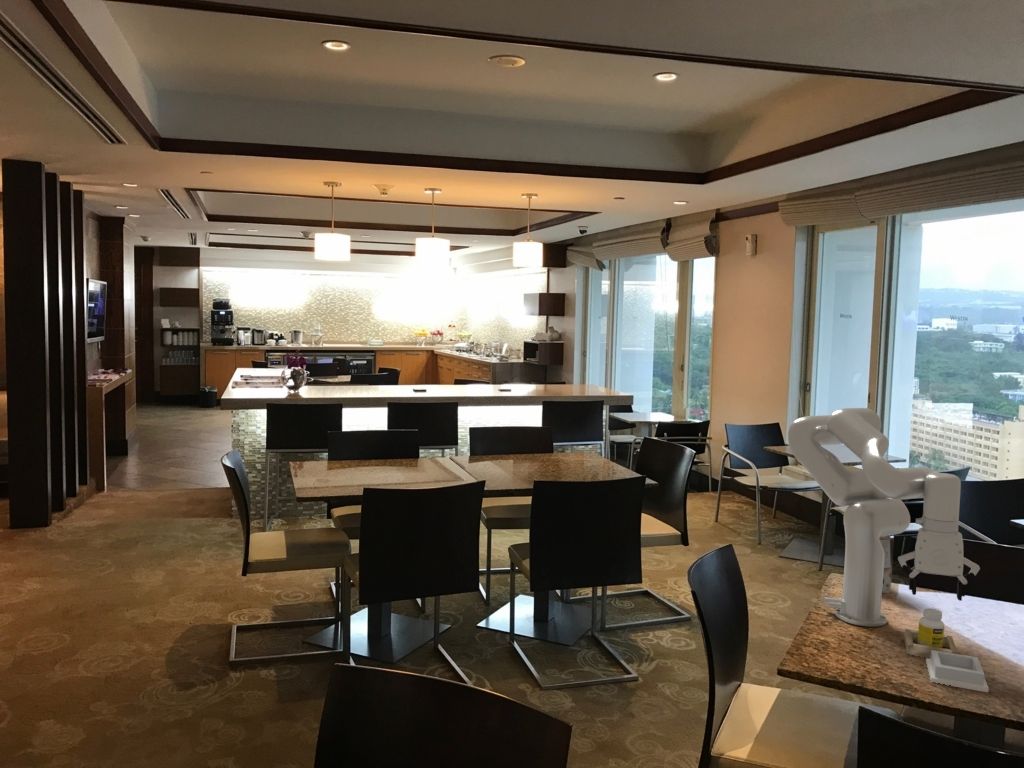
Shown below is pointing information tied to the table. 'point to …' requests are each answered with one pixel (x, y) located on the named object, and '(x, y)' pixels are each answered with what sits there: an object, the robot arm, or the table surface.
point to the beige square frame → (926, 650)
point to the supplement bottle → (931, 628)
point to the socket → (956, 670)
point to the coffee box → (887, 562)
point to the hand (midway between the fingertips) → (936, 595)
